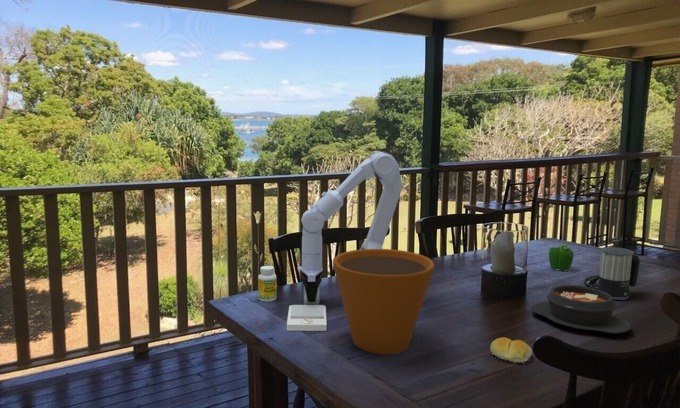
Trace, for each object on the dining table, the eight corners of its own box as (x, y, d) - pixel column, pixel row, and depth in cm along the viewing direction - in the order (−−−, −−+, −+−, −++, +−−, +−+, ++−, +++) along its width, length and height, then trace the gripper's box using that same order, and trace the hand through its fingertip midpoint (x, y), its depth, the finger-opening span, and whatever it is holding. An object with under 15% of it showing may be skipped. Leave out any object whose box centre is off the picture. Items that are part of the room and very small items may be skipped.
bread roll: (495, 345, 127) (496, 329, 126) (534, 355, 122) (535, 338, 121) (484, 358, 120) (485, 341, 119) (525, 368, 115) (526, 351, 115)
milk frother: (621, 303, 158) (626, 255, 156) (570, 290, 170) (574, 245, 168) (639, 294, 168) (645, 248, 165) (590, 282, 179) (594, 239, 177)
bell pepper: (545, 266, 199) (547, 240, 197) (568, 267, 198) (570, 241, 196) (550, 272, 191) (553, 245, 189) (574, 273, 190) (577, 246, 188)
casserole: (518, 319, 144) (521, 289, 143) (546, 303, 157) (549, 276, 156) (617, 347, 127) (621, 314, 126) (639, 327, 140) (643, 296, 139)
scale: (325, 311, 147) (325, 303, 146) (326, 330, 133) (326, 322, 133) (289, 310, 146) (289, 303, 146) (286, 330, 132) (286, 322, 132)
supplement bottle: (271, 294, 160) (271, 264, 158) (279, 300, 155) (279, 268, 154) (255, 297, 157) (255, 266, 155) (263, 303, 152) (263, 270, 151)
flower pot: (448, 356, 120) (453, 271, 117) (348, 368, 113) (350, 278, 110) (406, 318, 142) (409, 246, 139) (320, 326, 135) (322, 251, 132)
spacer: (319, 301, 154) (319, 281, 153) (319, 306, 149) (319, 286, 148) (304, 301, 154) (304, 281, 153) (303, 306, 149) (303, 286, 148)
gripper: (298, 246, 156) (298, 290, 158) (296, 258, 142) (296, 307, 144) (322, 246, 156) (321, 290, 159) (323, 259, 142) (322, 307, 144)
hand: (311, 298), depth 151 cm, fingers closed on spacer, 4 cm apart
